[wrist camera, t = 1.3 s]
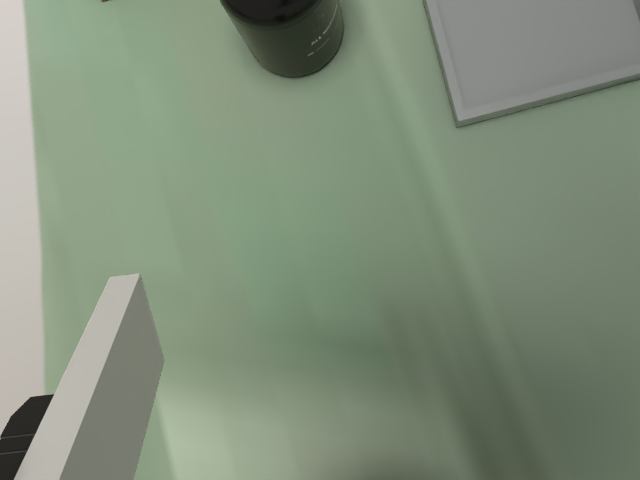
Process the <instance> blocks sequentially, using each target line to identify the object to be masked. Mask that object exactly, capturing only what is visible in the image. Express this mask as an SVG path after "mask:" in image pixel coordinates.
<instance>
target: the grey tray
mask: <svg viewBox="0 0 640 480" xmlns="http://www.w3.org/2000/svg"><path fill="white" fill-rule="evenodd" d="M423 3H424V7H425V10H426V14H427V18H428V22H429V25H430V29H431V33H432V37H433V40H434V44H435V48H436V52H437V55H438V59H439V63H440V67H441V70H442V74H443V78H444V81H445V85H446V89H447V93H448V96H449V100H450V104H451V108H452V111H453V115H454V119H455V123H456V126H457V127H461V126H465V125H469V124H472V123H476V122H480V121H484V120H487V119H491V118H495V117H499V116H502V115H506V114H510V113H514V112H518V111H521V110H525V109H529V108H533V107H536V106H540V105H544V104H548V103H552V102H555V101H559V100H563V99H567V98H570V97H574V96H578V95H582V94H585V93H589V92H593V91H597V90H601V89H604V88H608V87H612V86H616V85H619V84H623V83H627V82H631V81H634V80H638V79H640V0H423Z"/></svg>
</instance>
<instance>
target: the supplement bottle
mask: <svg viewBox="0 0 640 480" xmlns="http://www.w3.org/2000/svg"><path fill="white" fill-rule="evenodd" d="M220 2H221V4H222V6H223V7H224V9H225V10H226V12H227V14H228V15H229V17H230V19H231V20H232V22H233V23H234V25H235V27H236V28H237V30H238V31H239V33H240V35H241V36H242V38H243V40H244V41H245V43H246V44H247V46H248V48H249V49H250V51H251V52H252V54H253V55H254V57H255V58H256V59H257V61H258V62H259V63H260V64H261V65H262V66H264V67H265V68H266V69H268V70H269V71H271V72H273V73H276V74H279V75H282V76H289V77H296V76H303V75H307V74H310V73H312V72H314V71H316V70H318V69H320V68H321V67H323V66H324V65H325V64H326V63H327V62H328V61H329V60H330V59H331V58H332V57H333V55H334V54H335V52H336V51H337V49H338V47H339V45H340V42H341V39H342V34H343V19H342V13H341V8H340V3H339V0H220Z"/></svg>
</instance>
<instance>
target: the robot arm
mask: <svg viewBox="0 0 640 480" xmlns="http://www.w3.org/2000/svg"><path fill="white" fill-rule="evenodd" d="M163 364H164V356H163V353H162V349H161V345H160V342H159V338H158V335H157V331H156V328H155V324H154V321H153V317H152V314H151V310H150V307H149V303H148V299H147V296H146V292H145V289H144V285H143V282H142V278H141V275H140V274H132V275H124V276H115V277H110V278H109V280H108V282H107V284H106V286H105V288H104V291H103V293H102V295H101V297H100V299H99V301H98V303H97V305H96V307H95V310H94V312H93V314H92V316H91V318H90V320H89V322H88V324H87V326H86V329H85V331H84V333H83V335H82V337H81V339H80V341H79V343H78V345H77V347H76V350H75V352H74V354H73V356H72V358H71V360H70V362H69V364H68V366H67V369H66V371H65V373H64V375H63V377H62V379H61V381H60V383H59V385H58V388H57V390H56V392H55V394H52V395H44V396H36V397H30V398H29V399H28V400H27V401H26V402H25V403H24V404H23V405H22V406H21V407H20V408H19V409H18V410H17V411H16V412H15V413H14V414H13V415H12V416H11V418H10V419H9V422H8V423H7V425H6V427H5V429H4V431H3V432H2V434H1V436H0V437H1V440H0V480H133V479H134V475H135V471H136V468H137V464H138V460H139V456H140V452H141V448H142V445H143V441H144V437H145V433H146V429H147V425H148V422H149V418H150V414H151V410H152V406H153V402H154V399H155V395H156V391H157V387H158V383H159V379H160V376H161V372H162V368H163Z"/></svg>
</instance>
